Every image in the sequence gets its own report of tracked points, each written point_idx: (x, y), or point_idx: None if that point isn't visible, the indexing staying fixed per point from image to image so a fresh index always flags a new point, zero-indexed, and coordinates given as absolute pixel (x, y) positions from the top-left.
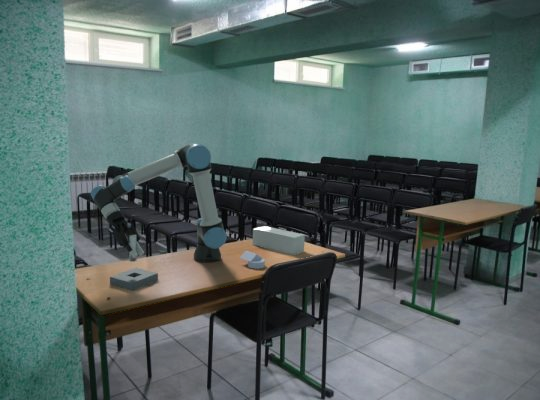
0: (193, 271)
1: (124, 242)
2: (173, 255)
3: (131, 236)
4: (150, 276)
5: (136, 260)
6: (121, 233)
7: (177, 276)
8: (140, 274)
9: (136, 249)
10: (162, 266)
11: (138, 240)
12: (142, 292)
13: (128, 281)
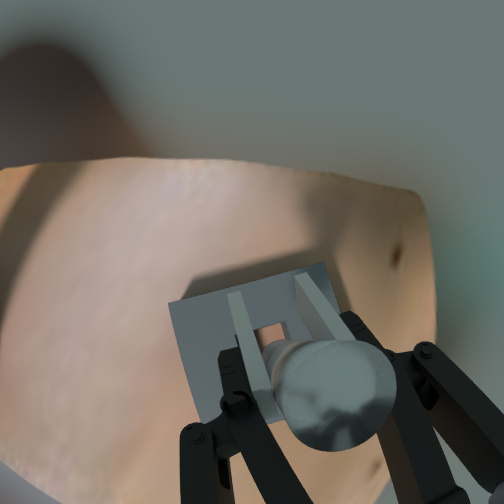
0: (42, 294)
1: (419, 352)
2: (26, 465)
3: (379, 355)
4: (215, 292)
5: (265, 347)
6: (445, 471)
7: (100, 291)
8: (237, 346)
9: (269, 356)
10: (84, 425)
11: (231, 395)
12: (292, 231)
13: (327, 287)
